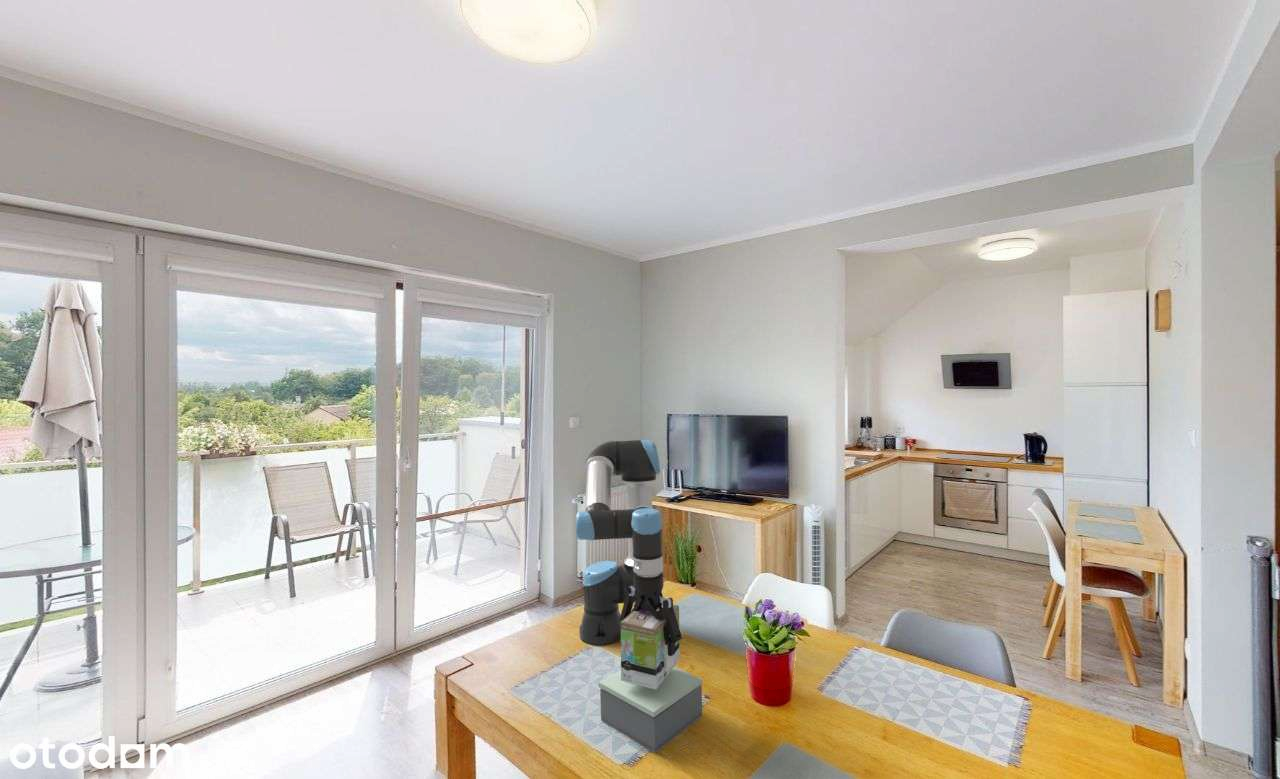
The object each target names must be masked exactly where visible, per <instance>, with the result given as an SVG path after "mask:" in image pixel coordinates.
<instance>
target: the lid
mask: <svg viewBox="0 0 1280 779" xmlns="http://www.w3.org/2000/svg"><path fill="white" fill-rule="evenodd" d="M597 684H598V688H600V689H603V690H605V691H607V692H609V693H610V694H612V695H614V696H616V697H618V698H619V699H621V700H623V701H625V702H627V703H628V704H630V705H632V706H634V707H636V708H637V709H639V710H641V711H643V712H645V713H646V714H648V715H650V716H652V717H655V716H657V715H658V714H660V713H661V712H662V711H664V710H665V709H667V708H668V707H670V706H671V705H672V704H674V703H675V702H677V701H678V700H680V699H681V698H682V697H684V696H685V695H687V694H688V693H690V692H691V691H692V690H694V689H695V688H697V687H698V686H700V685H701V684H702V685H703V678H701V677H700V676H697V675H694V674H692V673H690V672H687V671H685V670H683V669H681V668H679V667H677V666H676V665H675V666H674V667H673V669H672V670H671V671H670V672H669V674H668V675H667V676H666V678H665V679H664V680H663V681H662V683H661V684H660V685H659V686H658V688H657V689H656V690H655V689H651V688H647V687H643V686H639V685H635V684H631V683H627V682H624V681H621V669H619V670H618V671H615V672H614V673H612V674H610V675H609V676H607V677H605V678H603V679H601V680H600V681H598V683H597Z"/></svg>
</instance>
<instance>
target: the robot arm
mask: <svg viewBox="0 0 1280 779" xmlns="http://www.w3.org/2000/svg"><path fill="white" fill-rule="evenodd" d="M660 464H661V463H660V459H659V454H658V449H657V445H656V443H655V442H654V441H653V440H648V439H636V440H635V439H634V440H609V441H606V442H604V443H601V444H599V445H598V446H596V448H594V449H593V450H592V451H591V452H590V453H589V454H588V456H587V458H586V460H585V462H584V475H585V477H586V484H585V485H586V486H585V502H584V510H581V511H578V512H576V515H575V534H576V538H577V540H580V541H583V540H585V541H587V540H588V541H598V540H615V539H616V540H617V539H621V540H622V539H627V548H628V549H627V550H628V551H627V557H626V558H625V559H624V560H623V566H619V565H618V563H617V562H616V561H614V560H602V561H598V562H595V563H592V564H590V565H589V566H587V567H586V568H585V570H584V571H583V578H582V579H583V580H582V586H583V616H582V619H581V624H580V626H579V630H578V632H579V634H578V635H579V639H580V640H581V641H582V642H584V643H585V644H586V643H587V644H589V645H594V646H604V645H610V644H614V643H616V642H618V641H621V621H623V620H624V619H625V618H626V617H627V616H628V615H629V614H630V613H632V612H633V611H638V610H640V609H644V610H648V611H649V612H651V613H652V615H653V616H654V617H655V618H656V619H658V620H660V621H662V620H664V619H666V621H665V624H664V627H663V631H664V638H665V640H666V641H665V642H663V643H664V669H665V670H668V669H669V668H671V667H672V666H674V661H673V655H674V654H675V643H676V642H678V641H679V642H680V641H681V640H682V639H683V637H682V633H681V629H680V624H679V625H678V622H677V619H676V615H675V612H674V608H673V605H674V599H673V598H672V597H668V598H667V597H665V596H664V595H663V588H664V556H663V555H664V554H663V526H664V524H663V520H662V519H663V518H662V513H661V511H660V510H659V509H657V508H653V487H652V485H653V484H654V483H655V482H656V480H657V475H660V474H661V467H660V466H661V465H660ZM613 476H616V477H617V476H621V482H622V483H623V484H625V486H626V509H612V477H613ZM620 604H623V606H622V609H621V613H620V610H619V606H620ZM658 608H659V611H656V610H657V609H658ZM669 635H670V637H669Z"/></svg>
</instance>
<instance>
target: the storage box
mask: <svg viewBox="0 0 1280 779" xmlns="http://www.w3.org/2000/svg"><path fill="white" fill-rule="evenodd" d="M702 686H703V683H702V684H701V685H700V686H698V687H697V688H695V689H694V690H692V691H691V692H690V693H688V694H687V695H685V696H684V697H682V698H681V699H680V700H678V701H677V702H675V703H674V704H672V705H671V706H670V707H668V708H667V709H665V710H664V711H662V712H661V713H660V714H658V715H657V716H655V717H652V716H650V715H648V714H646V713H645V712H643V711H641V710H639V709H637V708H636V707H634V706H632V705H630V704H628V703H627V702H625V701H623V700H621V699H619V698H618V697H616V696H614V695H612V694H610V693H609V692H607V691H605V690H603V689H601V688H600V690H599V691H600V698H599V699H600V721H601V722H603V723H605V724H606V725H608V726H609V727H611V728H612V727H613V729H614V730H616V731H618V732H619V733H621V734H622V735H623V736H625V737H627V738H629V739H630V740H632V741H633V742H635V743H636V744H639V745H640V746H641V747H643V748H645V749H646V748H647V750H648V751H649V752H651V753H652V754H657V753H658V752H659V751H660V750H662V749H663V748H664V747H666V745H668V744H670V742H672V741H673V740H675V738H676V737H678V736H679V735H680V734H681V733H682V732H684V731H685V730H686V729H688V728H689V727H690V726H691V725H693V724H694V723H695V722H697V721H698V720H699V719H700V718H701V717H703V694H702V693H703V692H702V690H703V688H702Z"/></svg>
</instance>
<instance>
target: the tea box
mask: <svg viewBox="0 0 1280 779" xmlns="http://www.w3.org/2000/svg"><path fill="white" fill-rule="evenodd" d="M673 608H674V612H675V615H676V619H677V622H678V625H679V626H680V606H679V605H676V604H673ZM656 611H659V608H658V609H657V610H656ZM665 621H666V619H664V620H662V621H660V620H658V619H656V618H655V617H654V616H653V615H652V613H651V612H649V611H648V610H644V609H640V610H638V611H633V612H632V613H630V614H629V615H628V616H627V617H626V618H625V619H624V620H623V621H621V639H620V670H621V681H624V682H627V683H631V684H635V685H639V686H643V687H647V688H651V689H655V690H656V689H657V688H658V686H659V685H660V684H661V683H662V681H663V680H664V679H665V678H666V676H667V675H668V674H669V672H670V671H671V670H672V669H673V667H674V666H675V667H676V665H677V664H678V662H679V661H680V653H681V652H680V640H679V641H678V642H676V643H675V654H674V655H673V661H674V666H672V667H671V668H669V669H668V670H665V669H664V643H663V642H665V641H666V640H665V638H664V631H663V627H664V624H665ZM669 637H670V635H669Z"/></svg>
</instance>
